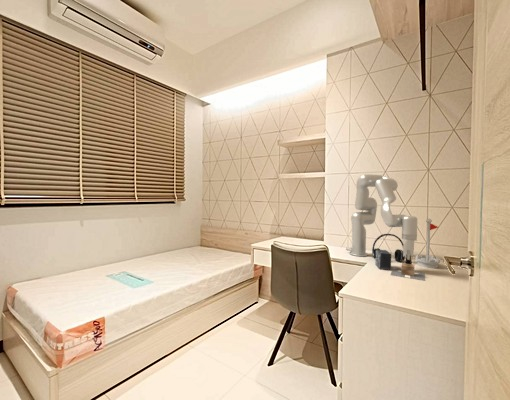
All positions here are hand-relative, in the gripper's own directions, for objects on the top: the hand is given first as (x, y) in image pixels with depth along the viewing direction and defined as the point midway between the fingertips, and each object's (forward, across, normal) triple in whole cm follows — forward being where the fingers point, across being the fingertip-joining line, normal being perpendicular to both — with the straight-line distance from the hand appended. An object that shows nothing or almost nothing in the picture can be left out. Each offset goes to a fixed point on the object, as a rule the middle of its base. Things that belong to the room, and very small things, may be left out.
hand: (408, 268), depth 147 cm
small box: (+2, +2, -13) cm, 13 cm away
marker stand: (+2, -22, +10) cm, 24 cm away
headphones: (+2, -20, -12) cm, 23 cm away
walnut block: (+1, +8, 0) cm, 8 cm away
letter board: (+2, +8, 0) cm, 9 cm away
